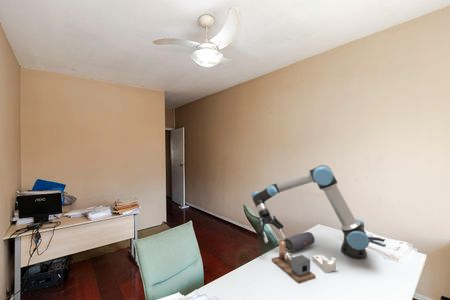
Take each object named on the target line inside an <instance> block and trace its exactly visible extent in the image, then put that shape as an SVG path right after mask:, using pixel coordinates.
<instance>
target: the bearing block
mask: <svg viewBox="0 0 450 300" xmlns="http://www.w3.org/2000/svg"><path fill="white" fill-rule="evenodd" d="M291 272H293V273H294V274H295V275H296V276H298V277H302V276H306V275H309V274H310V272H311V259H310V258H308V257H306V256H304V254H300V255H296V256H292V258H291Z"/></svg>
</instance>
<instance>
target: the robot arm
mask: <svg viewBox="0 0 450 300" xmlns="http://www.w3.org/2000/svg"><path fill="white" fill-rule="evenodd" d="M310 183H311V184H312V183H314V184H315V183H316V184H317V186H318V188H319V190H321V191H323V193H324V194H325V196H326V198H327V200H328V202H329V204H330V205H331V207H332V210H333V211H334V213H335V215H336V217H337V219H338V220H339V222H340V224H341V227H340V229H341V231H342V234H343V242H342V243H341V247H340V252H341V253H342V254H343V255H345V256H347V257H348V258H352V259H357V260H365V259H366V258H367V257H368V252H367V250H366V249H367V247H368V246H369V244H370V238H369V236H368V235H367V233H366V231H365V222H364V221H363V220H361V219H356V218H355V217H354V214H353V213H352V210H351V209H350V207H349V206H348V203H347V202H346V200H345V199H344V197H343V195H342V193H341V192H340V190H339V188H338V186H337V185H338V180H337V179H336V176H335V175H334V173H333V171H332V169H331V168H330V167H329V166H327V165H324V164H323V165H321V164H320V165H318V166H316V167H314V168H312V169H309V170H308V172H305V173H302V174H298V175H296V176H294V177H291V178H288V179H285V180H282V181H279V182H276V183H272V184H269V186H267V187H266V188H264V189H263V190H262V191H259V190H256V191H253V192H252V193H251V198H252V201H253V204H254V206H255V209H256V210H257V213H258V216H259V217H258V218H257V219H256V221H257V229H256V230H257V233H258V234H259V235H260V236H261V237H262V239H263V240H264V243H265V244H267V243H268V242H269V240H268V237H267V235H266V232H265V231H264V230H265V226H266V225H272V226H274V227H275V228H276V229H277V231H278V233H279V234H280V237H281V240H283V241H284V240H285V239H286V236H285V234H284V233H285V232H284V230H283V228H284V225H283V224H282V222H280V221H279V220H278V219H277V218H276V216H275V215H272V216H271V214H270V210H269V208H268V206H267V204H266V201H268V200H270V199H271V198H273V197H275V196H277V194H280V193H283V192H286V191H288V190H292V189H295V188H298V187H302V186H304V185H307V184H310ZM261 222H262V223H261Z"/></svg>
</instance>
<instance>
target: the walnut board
mask: <svg viewBox="0 0 450 300" xmlns="http://www.w3.org/2000/svg"><path fill="white" fill-rule="evenodd" d="M272 261H273V262H272ZM271 262H272V263H274V264H275V265H276V266H277V267H278V268H280V269H281V270H282V272H285V273H286V274H287V275H288V276H289V277H290V278H292V279H293V280H294V281H295V282H296V283H297V284H301V283H304V282H307V281H311V280H313V279H316V274H314V273H313V272H312V271H310V274H309V275H306V276H302V277H298V276H296V275H295V274H294V273H293V272H291V261H286V260H281V259H279V256H276V257H273V258H271Z"/></svg>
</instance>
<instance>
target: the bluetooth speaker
mask: <svg viewBox="0 0 450 300" xmlns="http://www.w3.org/2000/svg"><path fill="white" fill-rule="evenodd" d="M283 241H285V242H286V251H287V252H288V251H289V252H294V251H295V252H298V251H301V250H303V249H306V247H309V246H311V245H313V244H314V243H315V241H316V240H315V237H314V234H313V233H312V232H310V231H306V232H301V233H299V234H297V233H296V234H295V235H292V236H289V237H287V238H286V237H285V239H283Z"/></svg>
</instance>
